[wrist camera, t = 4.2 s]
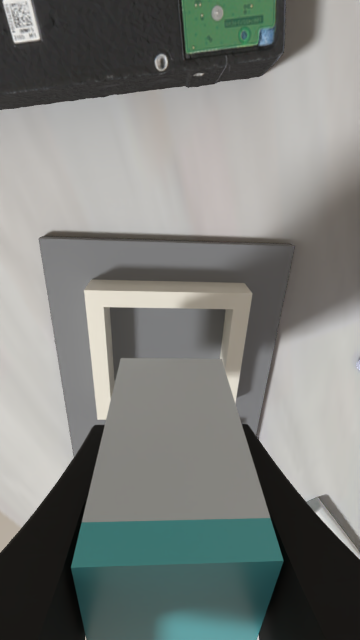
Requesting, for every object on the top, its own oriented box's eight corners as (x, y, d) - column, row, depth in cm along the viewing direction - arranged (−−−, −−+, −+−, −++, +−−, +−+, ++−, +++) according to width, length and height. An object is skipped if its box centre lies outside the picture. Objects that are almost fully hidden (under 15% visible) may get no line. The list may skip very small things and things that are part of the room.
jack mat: (238, 509, 24) (239, 515, 24) (85, 513, 23) (83, 519, 23) (291, 244, 15) (294, 246, 14) (42, 236, 14) (38, 238, 14)
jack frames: (213, 500, 23) (217, 521, 21) (111, 503, 22) (108, 524, 21) (244, 282, 15) (252, 293, 14) (91, 279, 15) (83, 290, 13)
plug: (212, 432, 14) (253, 649, 8) (125, 432, 14) (90, 657, 7) (221, 358, 12) (283, 561, 6) (120, 358, 12) (70, 567, 6)
